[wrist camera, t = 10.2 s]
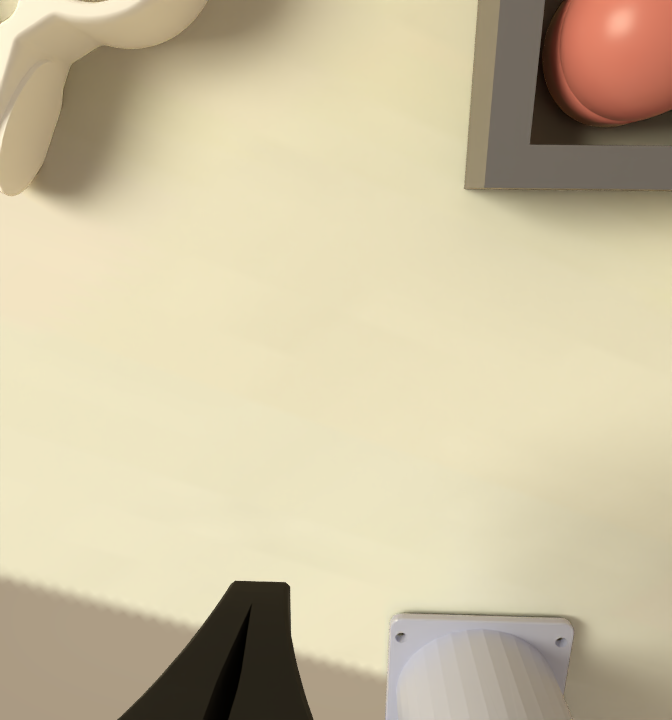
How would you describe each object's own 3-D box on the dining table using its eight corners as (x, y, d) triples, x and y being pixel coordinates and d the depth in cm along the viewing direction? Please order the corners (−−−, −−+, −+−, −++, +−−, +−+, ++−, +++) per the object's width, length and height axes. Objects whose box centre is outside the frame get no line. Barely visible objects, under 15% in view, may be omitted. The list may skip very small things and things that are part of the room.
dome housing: (702, 191, 19) (766, 190, 16) (464, 188, 19) (484, 187, 16) (758, -94, 16) (845, -155, 13) (485, -93, 17) (513, -154, 14)
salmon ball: (663, 130, 18) (759, 110, 14) (528, 129, 18) (582, 109, 14) (690, -26, 17) (805, -101, 12) (544, -26, 17) (610, -100, 12)
